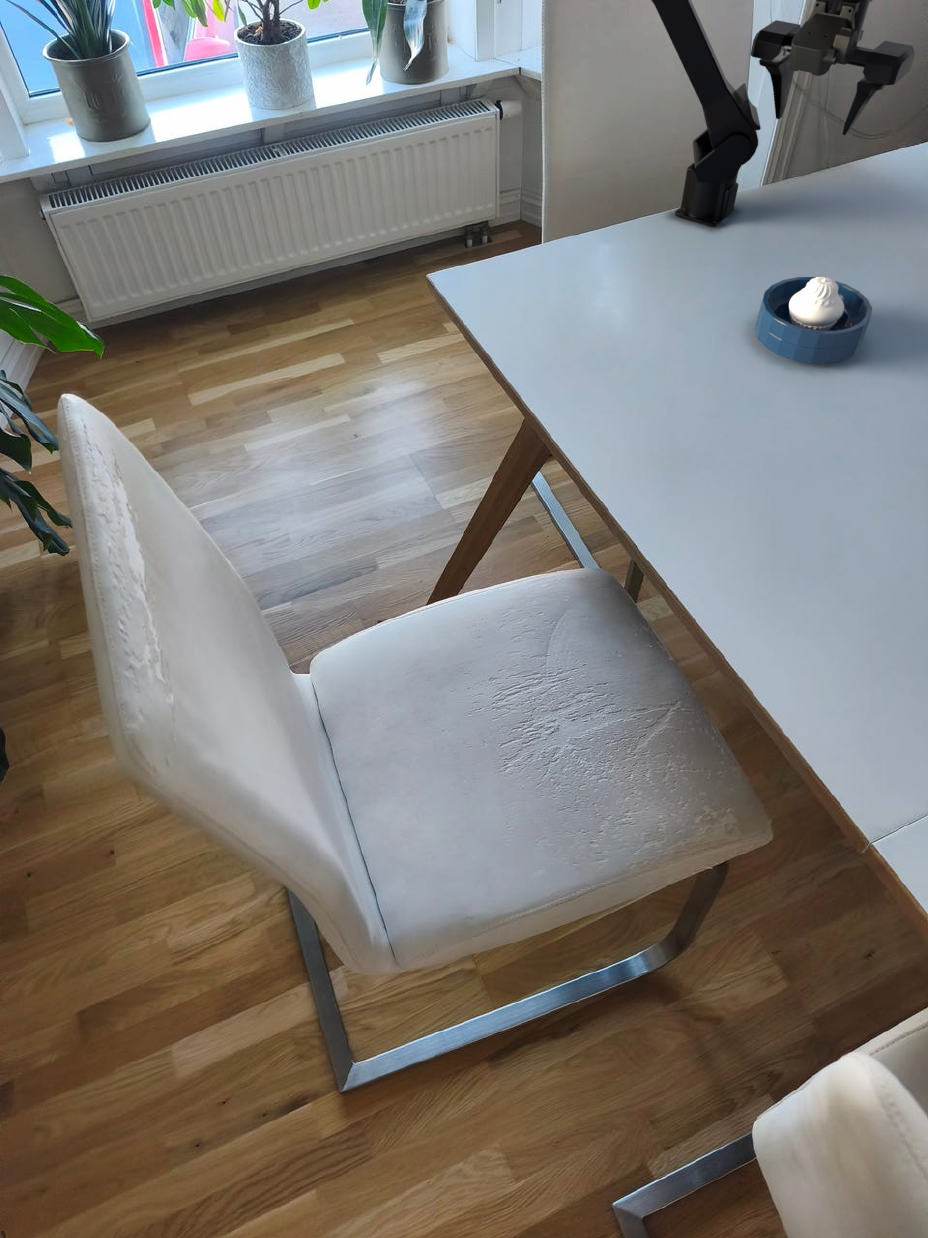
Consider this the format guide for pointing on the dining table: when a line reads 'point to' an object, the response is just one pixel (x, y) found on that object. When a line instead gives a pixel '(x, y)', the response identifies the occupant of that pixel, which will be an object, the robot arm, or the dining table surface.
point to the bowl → (804, 342)
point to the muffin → (816, 305)
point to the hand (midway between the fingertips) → (811, 125)
